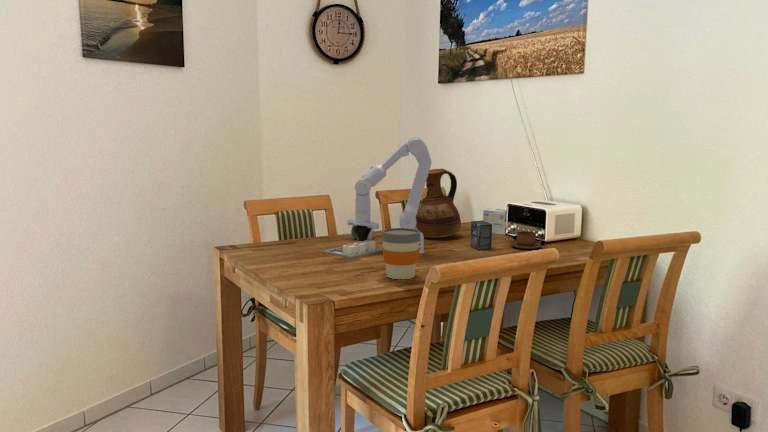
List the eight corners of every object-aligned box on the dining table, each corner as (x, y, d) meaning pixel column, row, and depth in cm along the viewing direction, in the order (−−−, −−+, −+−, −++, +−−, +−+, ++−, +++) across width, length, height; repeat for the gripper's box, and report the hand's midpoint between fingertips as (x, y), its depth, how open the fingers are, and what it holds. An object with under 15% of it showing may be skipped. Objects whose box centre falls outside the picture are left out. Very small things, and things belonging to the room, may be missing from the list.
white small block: (375, 250, 228) (375, 239, 228) (370, 251, 226) (370, 240, 226) (367, 248, 231) (367, 238, 230) (362, 250, 229) (362, 239, 228)
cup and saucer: (536, 244, 247) (536, 230, 247) (544, 251, 236) (545, 235, 235) (507, 244, 247) (507, 230, 246) (514, 251, 235) (515, 235, 234)
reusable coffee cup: (397, 269, 203) (397, 226, 201) (427, 276, 196) (428, 230, 193) (373, 277, 194) (373, 231, 191) (404, 283, 186) (404, 236, 184)
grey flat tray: (382, 253, 229) (382, 248, 229) (350, 261, 215) (350, 256, 215) (355, 248, 238) (355, 243, 237) (323, 255, 224) (323, 251, 224)
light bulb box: (509, 233, 273) (510, 209, 271) (504, 235, 267) (505, 211, 265) (487, 230, 278) (488, 207, 277) (482, 232, 273) (482, 209, 271)
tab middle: (365, 252, 224) (365, 241, 223) (360, 253, 222) (360, 243, 221) (357, 251, 227) (357, 240, 226) (352, 252, 224) (352, 241, 224)
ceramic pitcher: (407, 234, 268) (407, 167, 263) (445, 231, 276) (447, 166, 271) (428, 242, 250) (429, 170, 245) (469, 238, 259) (471, 169, 254)
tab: (355, 255, 220) (355, 244, 219) (350, 256, 218) (350, 245, 217) (347, 253, 222) (347, 242, 222) (342, 254, 220) (342, 243, 220)
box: (470, 246, 242) (470, 220, 240) (482, 246, 244) (483, 220, 242) (478, 250, 235) (479, 224, 233) (491, 249, 236) (492, 223, 235)
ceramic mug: (375, 241, 251) (374, 224, 250) (358, 243, 247) (357, 225, 246) (364, 237, 260) (364, 221, 259) (347, 239, 256) (347, 222, 255)
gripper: (341, 209, 230) (341, 244, 232) (370, 213, 220) (370, 249, 223) (354, 207, 235) (354, 241, 237) (382, 211, 226) (382, 246, 228)
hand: (362, 245), depth 230 cm, fingers closed
